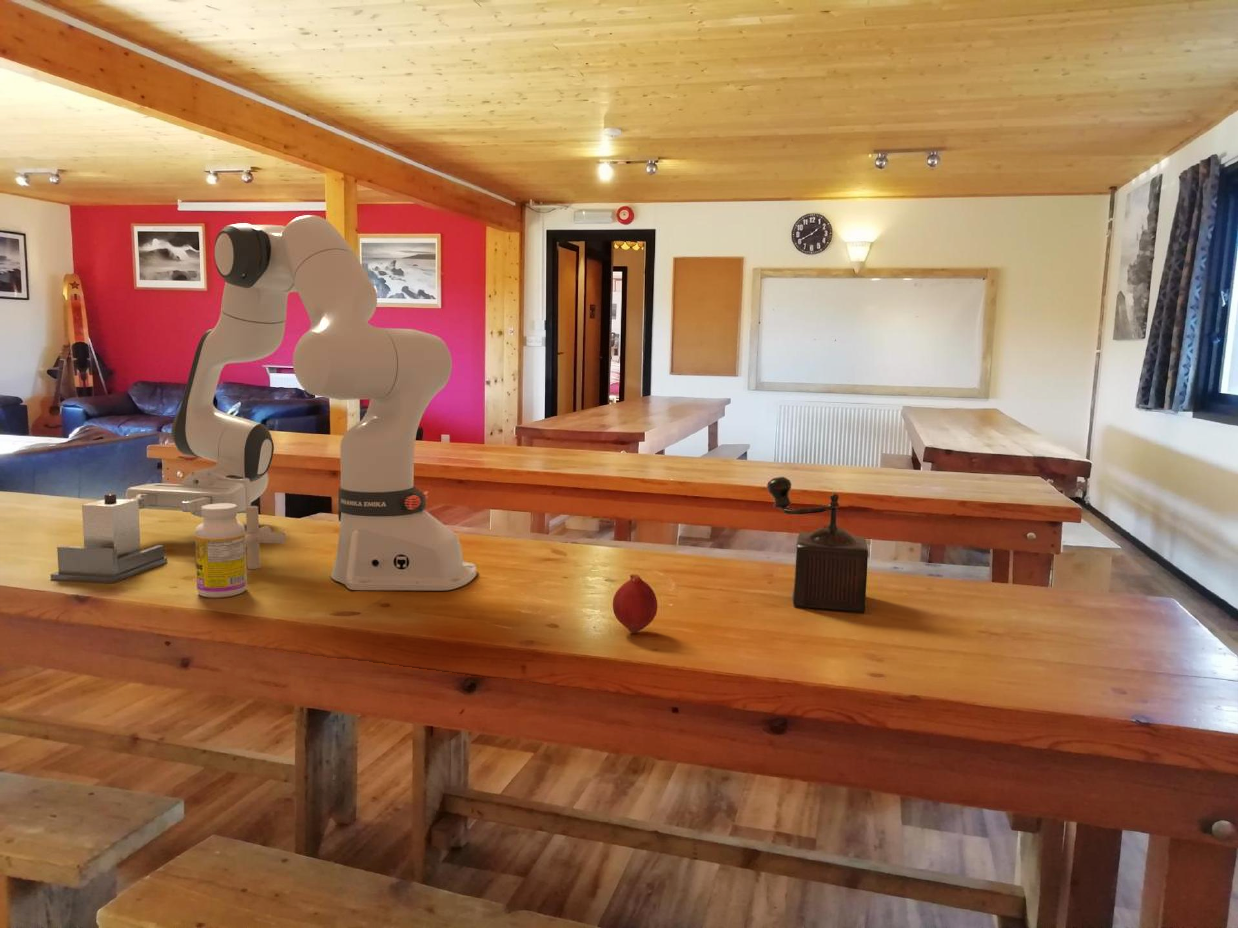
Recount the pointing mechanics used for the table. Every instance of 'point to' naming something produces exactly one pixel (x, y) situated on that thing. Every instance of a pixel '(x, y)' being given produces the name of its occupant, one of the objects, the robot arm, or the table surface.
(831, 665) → the table surface
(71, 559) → the tray
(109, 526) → the block
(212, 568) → the supplement bottle
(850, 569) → the manual coffee grinder
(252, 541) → the pipe connector
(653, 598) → the onion
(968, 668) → the table surface
